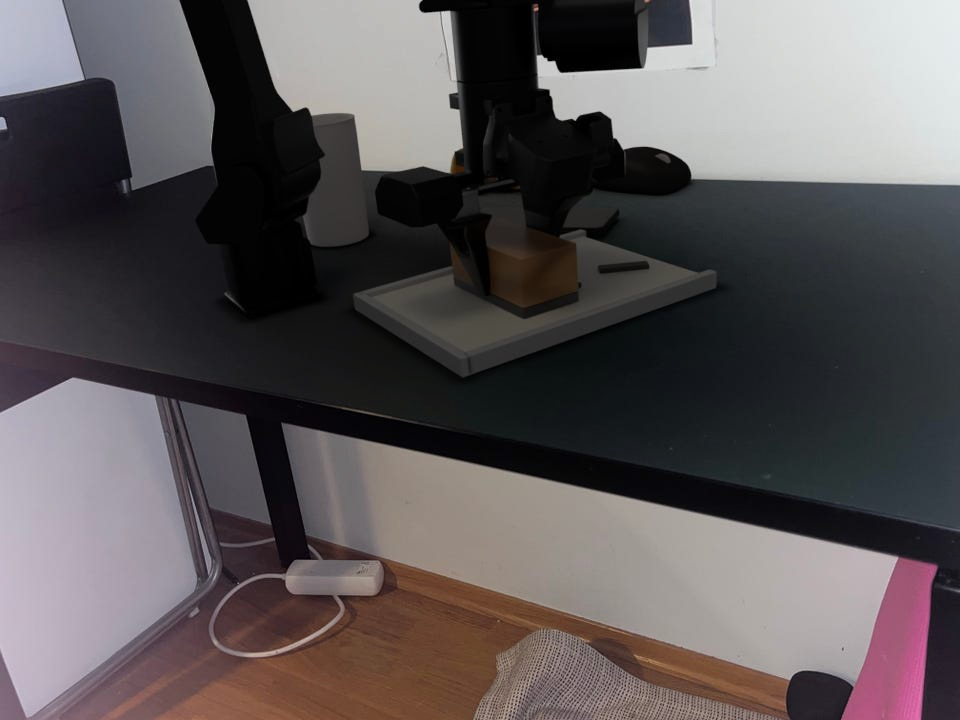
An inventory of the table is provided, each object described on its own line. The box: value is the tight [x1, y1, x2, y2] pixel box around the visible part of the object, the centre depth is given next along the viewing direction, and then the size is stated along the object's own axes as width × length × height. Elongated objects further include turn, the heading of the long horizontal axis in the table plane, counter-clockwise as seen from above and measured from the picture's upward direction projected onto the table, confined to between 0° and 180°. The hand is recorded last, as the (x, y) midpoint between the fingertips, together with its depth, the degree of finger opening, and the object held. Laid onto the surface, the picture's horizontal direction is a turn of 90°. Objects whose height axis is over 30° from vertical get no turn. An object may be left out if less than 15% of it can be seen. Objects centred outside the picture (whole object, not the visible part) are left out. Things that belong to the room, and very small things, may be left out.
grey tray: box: [352, 230, 718, 379], centre depth 69 cm, size 23×17×1 cm
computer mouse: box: [590, 146, 693, 195], centre depth 98 cm, size 8×12×4 cm, turn 51°
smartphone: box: [480, 206, 620, 237], centre depth 87 cm, size 7×1×15 cm
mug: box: [302, 112, 370, 248], centre depth 88 cm, size 10×7×12 cm, turn 59°
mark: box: [598, 261, 649, 274], centre depth 70 cm, size 1×4×1 cm, turn 92°
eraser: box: [449, 218, 579, 318], centre depth 67 cm, size 5×10×4 cm, turn 32°
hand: (513, 286), depth 67 cm, fingers closed on eraser, 5 cm apart
